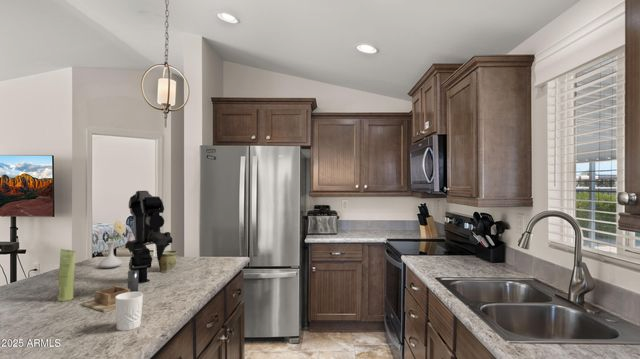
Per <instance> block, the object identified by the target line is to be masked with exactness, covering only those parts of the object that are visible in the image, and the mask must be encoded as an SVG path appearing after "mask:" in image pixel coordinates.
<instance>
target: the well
mask: <svg viewBox="0 0 640 359" xmlns="http://www.w3.org/2000/svg"><path fill="white" fill-rule="evenodd" d="M126 292H130V289H128V287H123V286H120V285H115V286H111V287H108V288H103V289H99V290H95V291H94V299H93V300H92V299H91V300H89V301H84V302H82V306H84V307H88V308H90V309H93V310H97V311H99V312H103V313H105V312H108V311H109V312H111V311H112V310H116V308H115V297H116V296H117V295H119V294H122V293H126Z"/></svg>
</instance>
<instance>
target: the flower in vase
mask: <svg viewBox="0 0 640 359" xmlns="http://www.w3.org/2000/svg"><path fill="white" fill-rule="evenodd" d="M113 230H114V231H115V235H114V236H109V235H107V239H109V240H107V241H106V242H105V244H106V245H107V246H108V254H107V256H106V257H105V258H103V260H101V261H100V262H99V263H98V267H99V268H103V269H109V268H110V269H111V268H116V267H120V266H122V265H123V261H122V260H121V259H119V257H117V256H116V255H115V253H114V247H115V244H117V242H118V241H117V240H115V238H116V239H118V240H119V239H121V238H123V236H122V235H123V234H124V233H126V232H127V231H126V230H127V228H126V225H125V223H123V222H122V221H120V220H119V221H118V220H116V221H115V222H114V223H113Z"/></svg>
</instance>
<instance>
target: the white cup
mask: <svg viewBox="0 0 640 359" xmlns="http://www.w3.org/2000/svg"><path fill="white" fill-rule="evenodd" d="M143 299H144V293H143V292H141V291H138V292H126V293H122V294H119V295H117V296H116V297H115V308H116V309H115V321H116V330H117V331H121V332H123V331H124V332H125V331H131V330H135V329H138V328H139V327H140V326H141V322H142V315H143V313H142V312H143V304H144V303H143V302H144V300H143Z"/></svg>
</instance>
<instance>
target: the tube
mask: <svg viewBox="0 0 640 359" xmlns="http://www.w3.org/2000/svg"><path fill="white" fill-rule="evenodd" d="M59 253H60V254H59V255H60V256H59V267H58V268H59V270H58V271H59V272H58V274H59V275H58V285H57V286H58V292H57V301H58V302H66V301H67V302H68V301H71V300H73V298H74V290H75V286H74V285H75V268H76V267H75V266H76V250H75V249H72V250H71V249H66V248H65V249H63V248H60V252H59Z"/></svg>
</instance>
